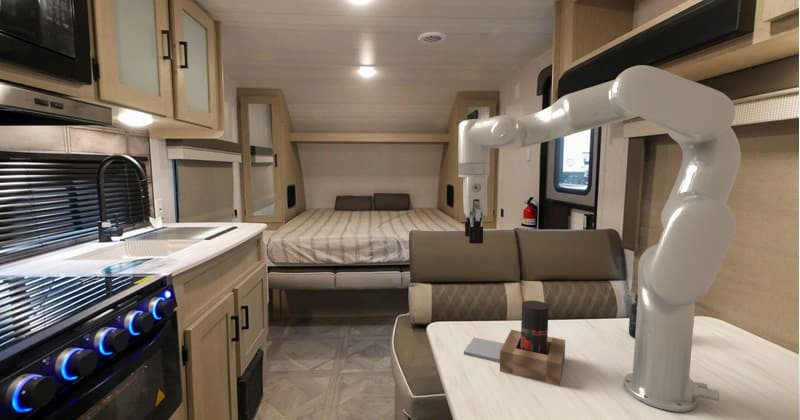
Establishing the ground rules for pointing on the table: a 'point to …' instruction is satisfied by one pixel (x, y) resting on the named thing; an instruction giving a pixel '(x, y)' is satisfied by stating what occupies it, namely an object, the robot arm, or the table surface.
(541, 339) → the deodorant
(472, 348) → the rubber mat
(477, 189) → the robot arm
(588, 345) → the table surface
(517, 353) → the socket block
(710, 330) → the table surface
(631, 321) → the supplement bottle
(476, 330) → the table surface
